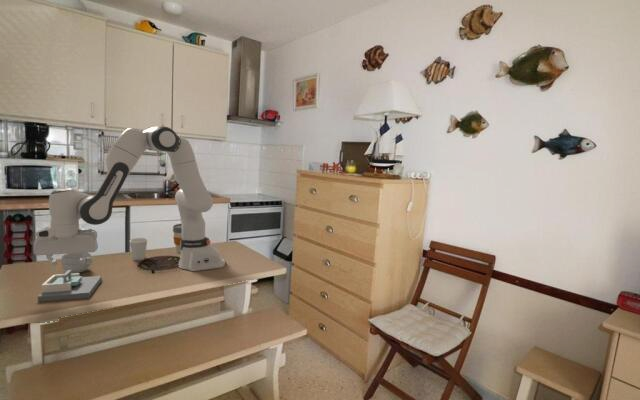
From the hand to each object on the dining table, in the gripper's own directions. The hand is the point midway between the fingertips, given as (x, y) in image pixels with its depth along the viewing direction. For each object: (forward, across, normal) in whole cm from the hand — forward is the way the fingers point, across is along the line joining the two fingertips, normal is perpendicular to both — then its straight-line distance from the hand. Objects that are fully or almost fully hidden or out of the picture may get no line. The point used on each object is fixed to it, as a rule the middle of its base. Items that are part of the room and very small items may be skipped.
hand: (68, 264), depth 133 cm
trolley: (+9, +1, 0) cm, 9 cm away
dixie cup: (+12, -19, -38) cm, 44 cm away
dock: (+11, -1, 0) cm, 11 cm away
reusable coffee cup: (+12, -41, -47) cm, 63 cm away
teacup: (+11, +3, -22) cm, 25 cm away
